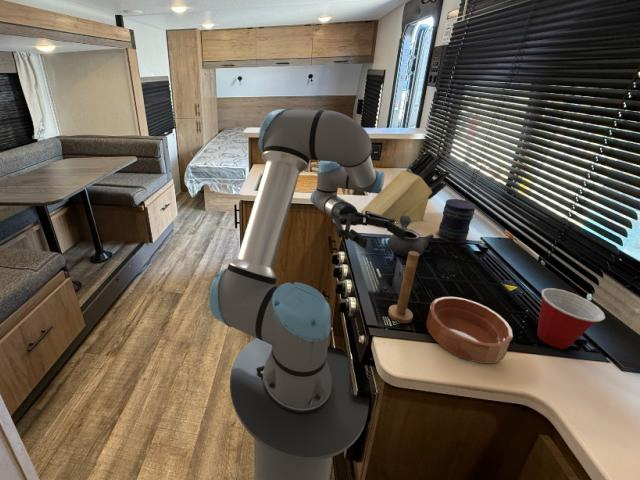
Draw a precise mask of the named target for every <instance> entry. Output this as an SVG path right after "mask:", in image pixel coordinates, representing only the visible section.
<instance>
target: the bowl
mask: <svg viewBox="0 0 640 480" xmlns="http://www.w3.org/2000/svg"><path fill="white" fill-rule="evenodd" d="M425 326H426V329H427V332H428V333H429V335H430V336H431V337H432V339H433V340H434V341H435V342H436V343H438V344H439V345H440V346H441V347H442V348H443V349H445V350H447V351H448V352H451V353H452V354H454V355H455V356H457V357H460V358H463V359H465V360H468V361H472V362H475V363H476V362H477V363H481V364H490V363H491V364H494V363H497V362H499V361H502V360H504V358H505V356H506V355H507V354H508V353H507V352H508V350H509V349H510V346H511V343H512V341H513V339H514V334H513V329H512V327H511V326H510V325H509V323H508V321H507V320H505V319H504V318H503V317H502V316H501V315H500V314H499V313H497V312H496V311H494V310H493V309H491V308H489V307H488V306H485V305H483V304H481V303H480V302H476V301H473V300H471V299H467V298H464V297H457V296H441V297H438V298H435V299H434V300H433V301H432V302H431V303H430V306H429V310H428V313H427V317H426V320H425Z"/></svg>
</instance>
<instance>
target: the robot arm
mask: <svg viewBox="0 0 640 480" xmlns="http://www.w3.org/2000/svg"><path fill="white" fill-rule="evenodd" d="M258 138H259V139H258V141H257V143H258V148H259V151H260V152H261V153H262V154H261V158H262V161H264V163H265V165H264V168H263V172H262V174H261V179H260V182H259V185H258V188H257V191H256V195H255V199H254V202H253V204H252V208H251V211H250V215H249V219H248V221H247V225H246V228H245V232H244V235H243V238H242V241H241V244H240V248H239V252H238V254H237V257H236V258H235V259H233V260H231V261H229V262H228V264H227V265H228V266H227V268H225V269H221V270H219V271H218V272H217V274H216V276H215V277H214V278H213V280H212V283H211V285H210V289H209V295H208V306H209V310H210V312H211V315H212V316H213V317H214V319H216V320H217V321H219V322H221V323H223V324H224V325H226V326H227V327H229V328H233V329H236V330H238V331H239V332H242V333H244V334H246V335H249V336H251V337H253V338H254V339H255V338H257V339H260V340H262V341H264V342H266V343H268V344H271V345H272V350H271V352H270V354H269V356H268V358H267V360H266V363H265V366H262V367H258V368H257V369H256V370H257V372H262V371H263V383H264V387H265V390H266V392H267V394H268V396H269V397H270V398H271V400H272V401H273V402H274V403H275V404H276V405H278V406H279V407H280V408H282V409H284V410H286V411H288V412H291V413H295V414H310V413H313V412H316V411H318V410H320V409H321V408H322V407H324V406H325V405H326V403H327V402H328V400H329V398H330V395H331V391H332V377H331V372H330V369H329V366H328V363H327V360H326V357H327V349H328V346H329V340H330V334H331V330H332V322H331V321H332V319H331V317H332V311H331V306H330V304H329V302H328V301H327V299H326V297H325V296H324V295H323V294H322V293H321V292H320V291H319V290H318V289H316V288H315V287H313V286H311V285H309V284H306V283H303V282H298V281H294V282H292V283H291V282H285V283H282V284H280V285H279V286H276V283H277V279H278V277H277V275H276V273H275V271H274V265H275V261H276V258H277V254H278V251H279V249H280V248H279V247H280V243H281V241H282V237H283V233H284V229H285V226H286V222H287V219H288V216H289V213H290V209H291V205H292V202H293V198H294V195H295V191H296V187H297V184H298V180H299V178H300V174H301V173H303V172H304V171H306V170H308V167H309V165H310V161H319V162H318V167H317V168H318V169H317V172H316V174H317V176H316V188H315V189H313V191H312V192H311V194H310V202H311V203H312V204H313V206H314V207H315V208H317V209H318V210H319V211H322V213H324V214H325V215H327V216H329V217H330V218H332V221H331V224H332V225H333V226H334V227H335V232H336V235H337V237H338V238H343V239H344V240H346V241H348V240H350V241H352V242H354V243H355V244H357V245H358V246H360V247H361V248H362V249H366V248H367V243H368V239H367V238H366V237H364V236H363V235H361V233H358V231H356V230H354V228H351V226H354V227H355V226H372V227H378V228H383V229H386V231H387V232H388V233H391V234H392V235H393V234H394V235H396V236H397V237H399V238H401V239H402V240H405V237H406V232H407V231H405V230H403V229H402V227H401V226H399V225H396V223H395V219H392V218H389V217H385V216H382V215H378V214H375V213H372V212H370V211H365V213H364V214H362V213H361V211H358V209H357V207H356V206H355V205H354V204H352V203H350V202H348V201H347V200H345V199H344V198H341V197H339V196H338V189H344V190H351V191H356V192H363V193H368V194H377V195H378V194H379V193H380V192H381V191H382V190H383V189H384V183H385V172H384V171H379V170H377V169H376V170H375V168H374V164H373V161H372V160H373V159H372V157H371V154H372V151H373V145H372V140H371V137H370V135H369V133H368V132H367V130H366V128H364V127H363V126H362V125H361V124H359V123H358V122H357V121H356V120H355V119H353V118H352V117H350V116H348V115H346V114H344V113H341V112H339V111H335V110H317V109H316V110H314V109H313V110H312V109H309V110H308V109H293V108H284V109H275V110H273V111H270V112H269V113H268V114H267V115H266V116H265V117H264V119H263V121H262V123H261V124H260V127H259V131H258ZM343 226H345V227H344V229H343Z"/></svg>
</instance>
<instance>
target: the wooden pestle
mask: <svg viewBox="0 0 640 480" xmlns="http://www.w3.org/2000/svg"><path fill="white" fill-rule="evenodd" d="M419 258H420V256H419V253H417V252H415V251H409V253H408V257H407V258H406V263H405V268H404V272H403V277H402V281H401V286H400V290H399V295H398V299H397V304H392V305H390V306H389V308H388V311H387V313H388V316H389V318H391V319H392V320H393V321H395V322H397V323H400V324H409V323H412V321H413V317H414V314H413V312H412V310H411V309H409V308H408V305H409V300H410V297H411V292H412V289H413V283H414V279H415V275H416V271H417V266H418V262H419Z"/></svg>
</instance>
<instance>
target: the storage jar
mask: <svg viewBox="0 0 640 480" xmlns="http://www.w3.org/2000/svg"><path fill="white" fill-rule="evenodd" d="M476 207H477V206H476V204H475V203H473V202H471V201H469V200H465V199H459V198H450V199H447V200H446V201H445V204H444V207H443V211H442V218H441V221H440V223H439V226H438V232H437V236H438V238H440V239H441V240H443V241H446V242H448V243H451V244H452V243H453V244H463V243H465V242H466V241H467V238H468V235H469V231H470V224H471V222H472V220H473V218H474V215H475V210H476Z"/></svg>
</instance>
